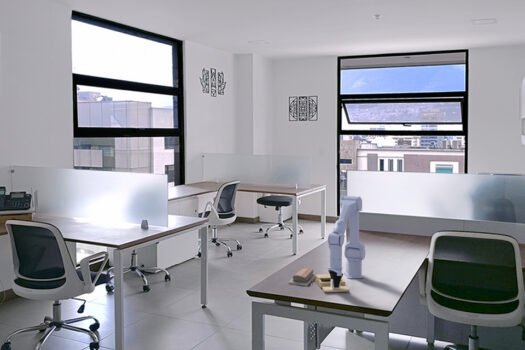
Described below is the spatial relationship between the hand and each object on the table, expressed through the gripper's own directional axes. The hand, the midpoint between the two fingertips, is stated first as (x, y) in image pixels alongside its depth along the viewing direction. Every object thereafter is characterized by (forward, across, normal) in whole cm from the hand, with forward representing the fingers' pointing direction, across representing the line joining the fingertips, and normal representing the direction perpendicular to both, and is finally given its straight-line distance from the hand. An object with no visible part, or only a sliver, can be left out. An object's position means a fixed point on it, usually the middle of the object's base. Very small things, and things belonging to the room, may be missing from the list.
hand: (335, 286), depth 239 cm
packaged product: (+3, -20, -12) cm, 23 cm away
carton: (+2, -10, 0) cm, 11 cm away
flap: (+2, 0, 0) cm, 2 cm away
